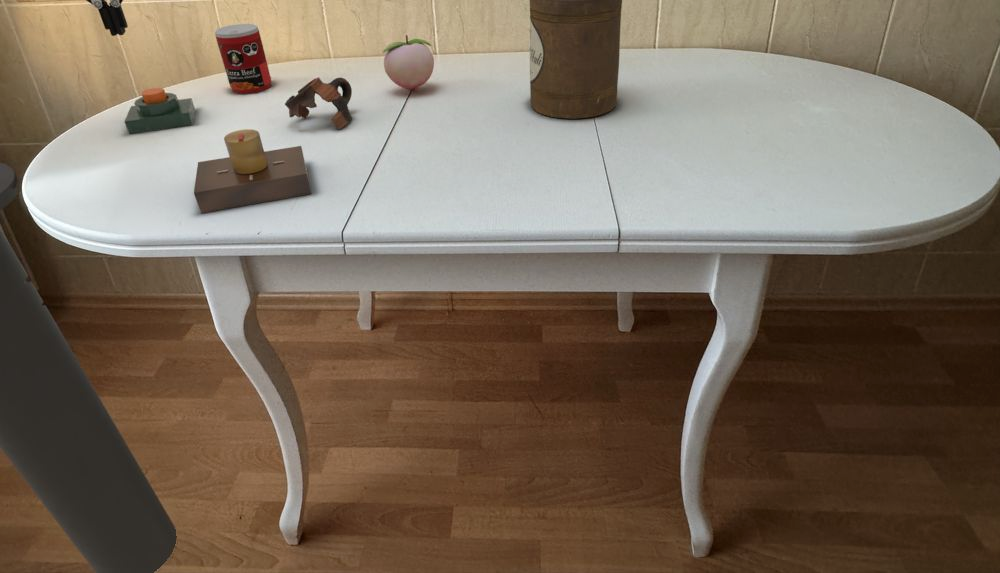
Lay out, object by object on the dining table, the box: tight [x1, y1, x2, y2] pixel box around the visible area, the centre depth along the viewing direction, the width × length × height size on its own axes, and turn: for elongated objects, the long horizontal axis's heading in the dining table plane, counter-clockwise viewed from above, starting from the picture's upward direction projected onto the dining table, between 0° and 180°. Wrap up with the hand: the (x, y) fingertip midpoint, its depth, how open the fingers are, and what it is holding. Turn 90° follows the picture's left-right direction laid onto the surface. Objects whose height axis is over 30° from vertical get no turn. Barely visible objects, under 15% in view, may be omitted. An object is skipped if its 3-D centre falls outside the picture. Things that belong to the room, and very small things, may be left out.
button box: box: [124, 92, 196, 135], centre depth 107 cm, size 10×8×4 cm
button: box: [140, 87, 167, 103], centre depth 106 cm, size 4×4×2 cm
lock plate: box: [193, 145, 312, 214], centre depth 85 cm, size 14×10×3 cm
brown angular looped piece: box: [284, 77, 353, 131], centre depth 104 cm, size 12×10×8 cm
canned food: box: [214, 23, 272, 95], centre depth 119 cm, size 8×8×11 cm
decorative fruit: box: [382, 34, 435, 92], centre depth 114 cm, size 9×8×10 cm
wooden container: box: [529, 0, 623, 120], centre depth 101 cm, size 15×15×22 cm
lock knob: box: [223, 128, 268, 174], centre depth 82 cm, size 4×4×5 cm
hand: (118, 33), depth 98 cm, fingers closed
